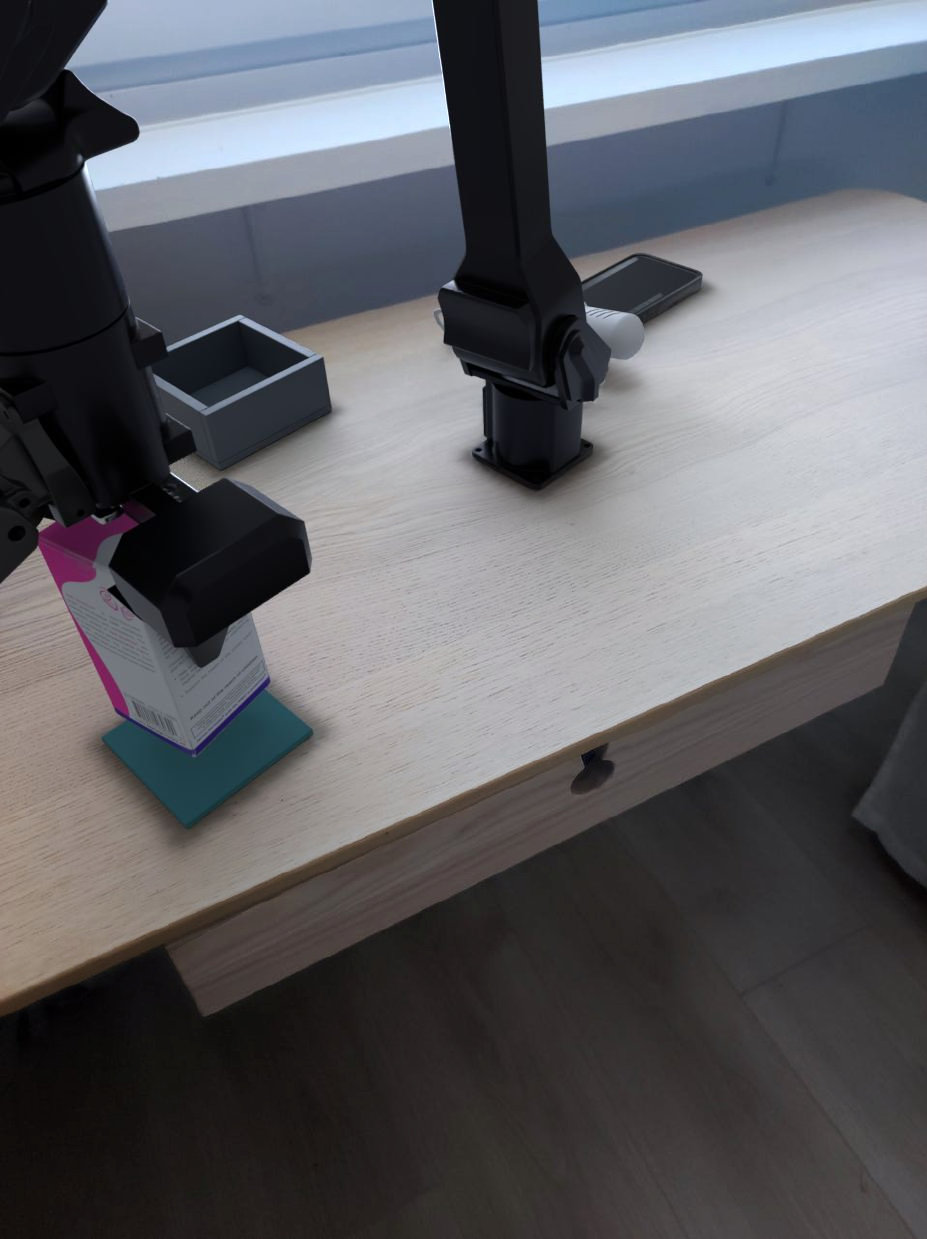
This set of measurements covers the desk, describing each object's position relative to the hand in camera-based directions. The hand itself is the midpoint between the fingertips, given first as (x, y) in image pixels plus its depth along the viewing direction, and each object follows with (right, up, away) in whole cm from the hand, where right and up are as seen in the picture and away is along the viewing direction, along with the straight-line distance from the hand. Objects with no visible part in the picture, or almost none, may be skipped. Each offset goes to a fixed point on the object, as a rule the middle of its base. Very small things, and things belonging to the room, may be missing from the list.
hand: (168, 626), depth 43 cm
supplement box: (0, -4, +4) cm, 5 cm away
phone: (+28, +29, +39) cm, 56 cm away
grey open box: (-4, +16, +28) cm, 33 cm away
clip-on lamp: (+19, +21, +32) cm, 43 cm away
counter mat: (0, -6, +6) cm, 8 cm away
